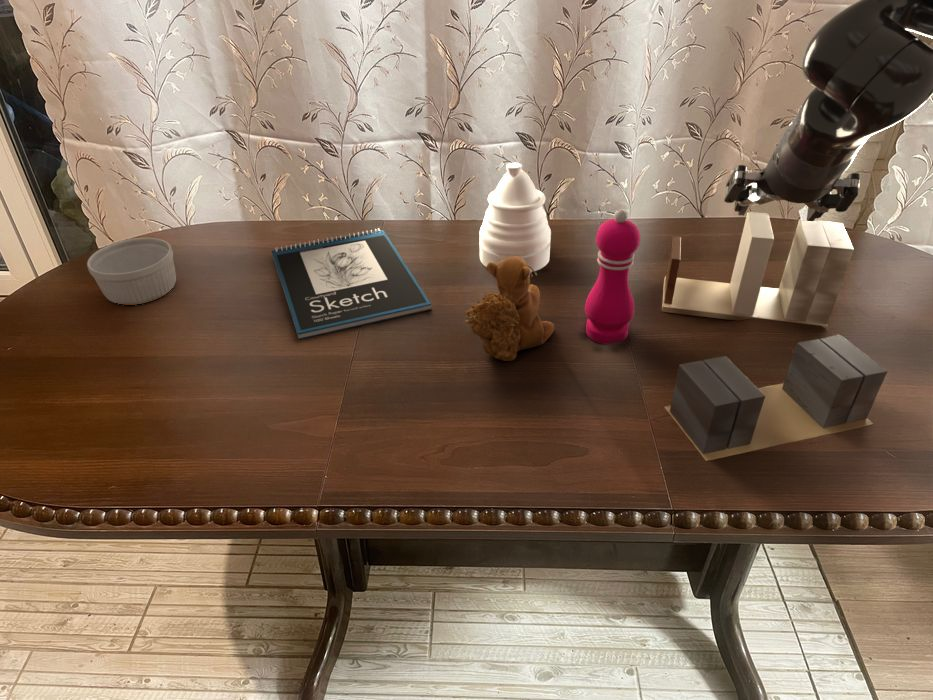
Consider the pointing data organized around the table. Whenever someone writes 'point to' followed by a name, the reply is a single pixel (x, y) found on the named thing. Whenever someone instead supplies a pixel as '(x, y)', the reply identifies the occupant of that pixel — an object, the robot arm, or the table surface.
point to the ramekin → (134, 270)
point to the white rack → (801, 289)
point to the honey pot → (515, 222)
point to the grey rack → (775, 399)
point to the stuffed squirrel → (509, 312)
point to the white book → (751, 263)
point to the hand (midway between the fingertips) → (775, 211)
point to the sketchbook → (346, 283)
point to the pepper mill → (612, 281)
